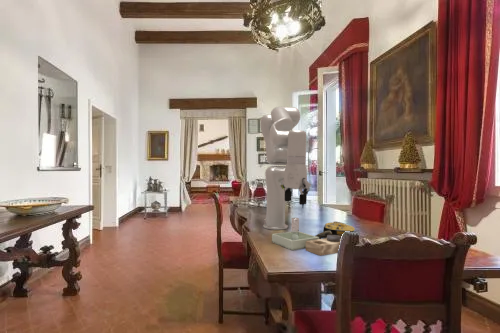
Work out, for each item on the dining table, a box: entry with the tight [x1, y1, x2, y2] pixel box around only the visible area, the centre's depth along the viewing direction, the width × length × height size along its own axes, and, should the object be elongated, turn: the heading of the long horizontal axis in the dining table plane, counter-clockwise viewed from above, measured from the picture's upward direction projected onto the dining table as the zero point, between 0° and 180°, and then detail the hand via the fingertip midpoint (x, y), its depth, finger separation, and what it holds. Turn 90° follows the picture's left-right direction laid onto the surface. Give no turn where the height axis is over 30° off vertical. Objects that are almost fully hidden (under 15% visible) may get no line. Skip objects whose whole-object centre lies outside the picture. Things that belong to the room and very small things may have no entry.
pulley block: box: [315, 221, 358, 239], centre depth 144 cm, size 14×6×30 cm
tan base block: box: [305, 235, 342, 256], centre depth 120 cm, size 14×8×5 cm, turn 120°
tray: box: [271, 230, 319, 251], centre depth 129 cm, size 14×14×4 cm
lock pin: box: [290, 217, 300, 241], centre depth 129 cm, size 3×3×10 cm
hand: (295, 202), depth 129 cm, fingers open, 9 cm apart
